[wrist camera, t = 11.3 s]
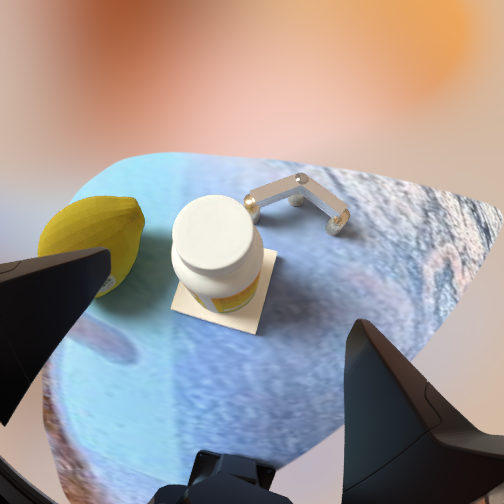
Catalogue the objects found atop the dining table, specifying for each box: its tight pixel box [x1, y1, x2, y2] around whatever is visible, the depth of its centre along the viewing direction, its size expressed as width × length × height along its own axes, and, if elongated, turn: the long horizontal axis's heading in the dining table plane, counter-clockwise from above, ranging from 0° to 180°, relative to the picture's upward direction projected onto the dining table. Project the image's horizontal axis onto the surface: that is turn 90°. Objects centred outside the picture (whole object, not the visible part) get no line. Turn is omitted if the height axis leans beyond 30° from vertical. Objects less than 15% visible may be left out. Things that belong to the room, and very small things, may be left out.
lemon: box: [38, 196, 145, 299], centre depth 20 cm, size 11×8×8 cm
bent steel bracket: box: [244, 173, 350, 236], centre depth 24 cm, size 4×9×4 cm, turn 75°
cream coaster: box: [170, 248, 277, 335], centre depth 23 cm, size 7×7×1 cm
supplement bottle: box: [171, 195, 264, 314], centre depth 18 cm, size 5×5×10 cm
